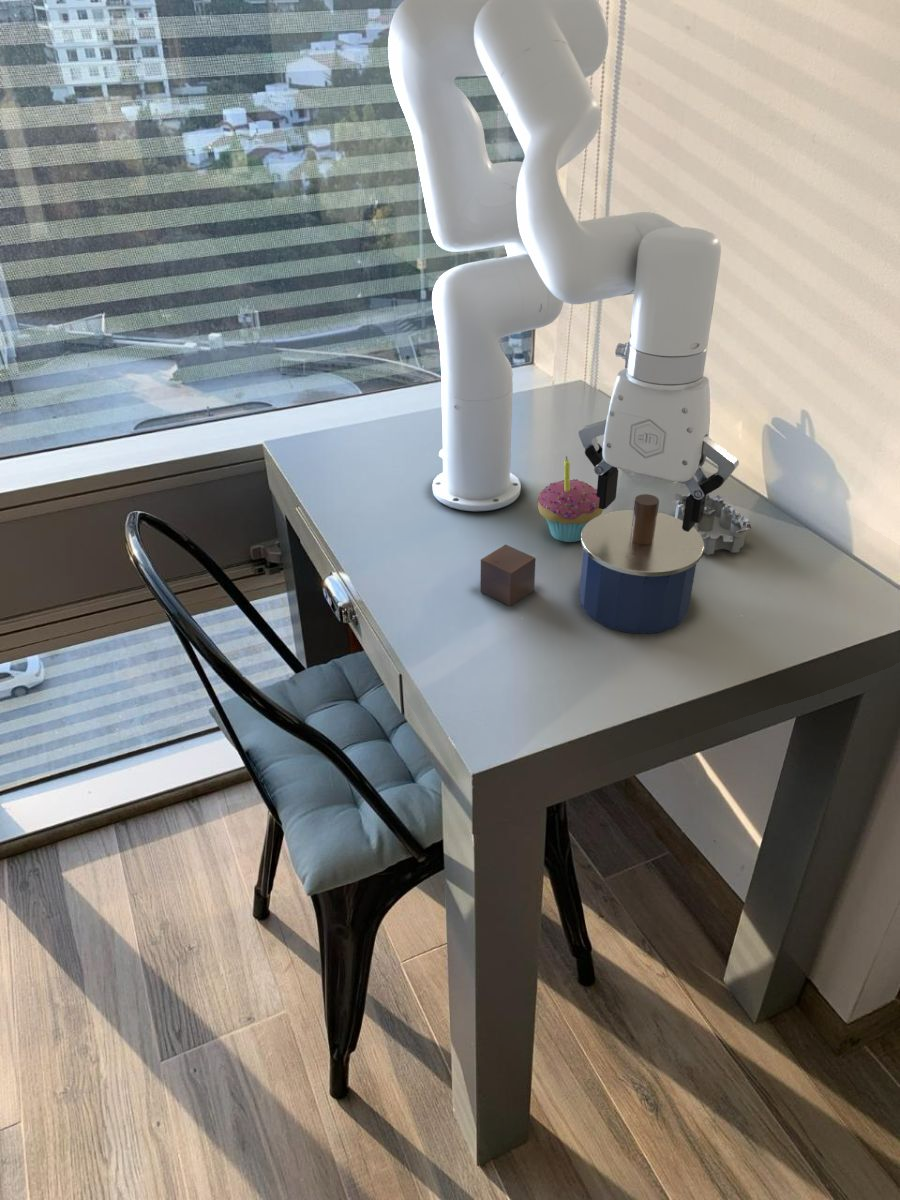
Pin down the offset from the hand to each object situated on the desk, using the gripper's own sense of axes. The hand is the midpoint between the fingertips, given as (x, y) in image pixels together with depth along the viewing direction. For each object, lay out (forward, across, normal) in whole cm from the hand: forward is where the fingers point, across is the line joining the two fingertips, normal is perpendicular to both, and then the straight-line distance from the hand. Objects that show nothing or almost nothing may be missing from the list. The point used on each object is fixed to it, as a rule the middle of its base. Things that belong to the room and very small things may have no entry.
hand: (647, 514), depth 98 cm
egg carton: (+12, +2, +20) cm, 23 cm away
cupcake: (+12, -14, +10) cm, 21 cm away
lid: (+4, 0, 0) cm, 4 cm away
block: (+12, -14, -6) cm, 19 cm away
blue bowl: (+12, 0, 0) cm, 12 cm away
